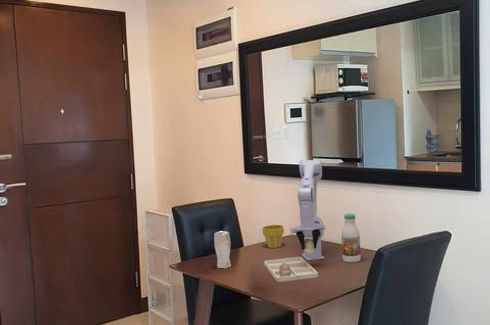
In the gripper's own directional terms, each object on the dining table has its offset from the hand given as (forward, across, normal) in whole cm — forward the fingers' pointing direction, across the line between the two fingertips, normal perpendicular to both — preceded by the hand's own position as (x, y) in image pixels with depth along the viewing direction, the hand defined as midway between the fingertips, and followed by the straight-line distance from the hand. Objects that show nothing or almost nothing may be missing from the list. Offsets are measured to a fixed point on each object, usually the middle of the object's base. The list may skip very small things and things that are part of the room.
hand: (308, 248), depth 215 cm
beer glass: (+9, -34, +17) cm, 39 cm away
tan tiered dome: (+8, -13, -10) cm, 18 cm away
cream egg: (+1, 0, 0) cm, 1 cm away
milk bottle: (+9, +20, +4) cm, 22 cm away
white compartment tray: (+8, -9, -2) cm, 12 cm away
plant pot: (+9, -5, +40) cm, 42 cm away
